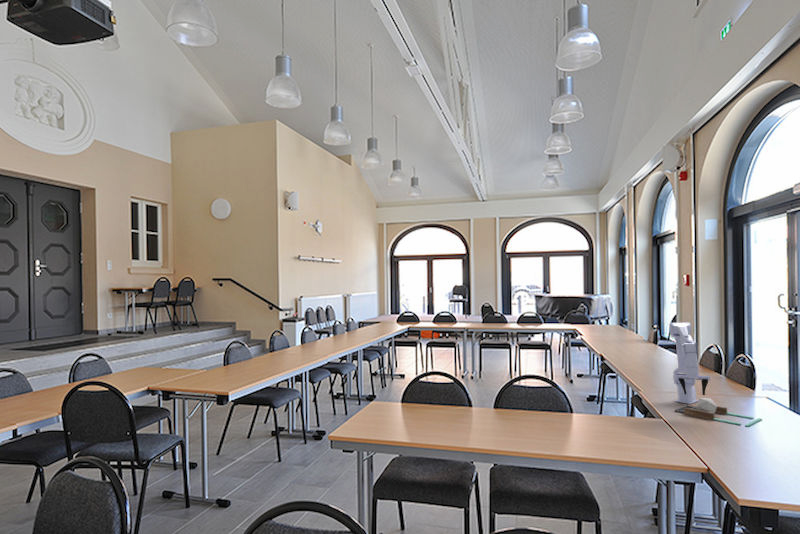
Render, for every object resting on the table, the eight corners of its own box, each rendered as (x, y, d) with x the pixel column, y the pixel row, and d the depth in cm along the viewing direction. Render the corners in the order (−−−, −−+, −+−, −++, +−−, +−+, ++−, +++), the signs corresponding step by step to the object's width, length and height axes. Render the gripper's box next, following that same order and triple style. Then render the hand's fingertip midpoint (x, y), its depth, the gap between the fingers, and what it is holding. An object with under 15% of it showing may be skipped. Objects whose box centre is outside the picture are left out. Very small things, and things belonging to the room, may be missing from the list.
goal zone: (727, 413, 226) (727, 412, 226) (761, 420, 214) (761, 418, 214) (713, 420, 218) (713, 418, 218) (748, 426, 206) (748, 425, 206)
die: (716, 413, 229) (701, 396, 234) (724, 409, 222) (709, 392, 227) (703, 421, 228) (688, 403, 233) (711, 417, 221) (696, 399, 226)
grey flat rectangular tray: (686, 407, 241) (686, 405, 241) (696, 408, 237) (696, 406, 237) (674, 411, 235) (674, 409, 235) (685, 413, 230) (684, 411, 230)
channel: (699, 408, 237) (698, 402, 237) (727, 413, 226) (726, 407, 226) (684, 414, 229) (684, 408, 229) (713, 420, 218) (712, 413, 218)
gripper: (675, 367, 227) (678, 394, 225) (709, 367, 221) (713, 396, 219) (674, 366, 234) (677, 393, 232) (708, 366, 227) (711, 394, 225)
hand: (694, 394), depth 226 cm, fingers open, 7 cm apart
